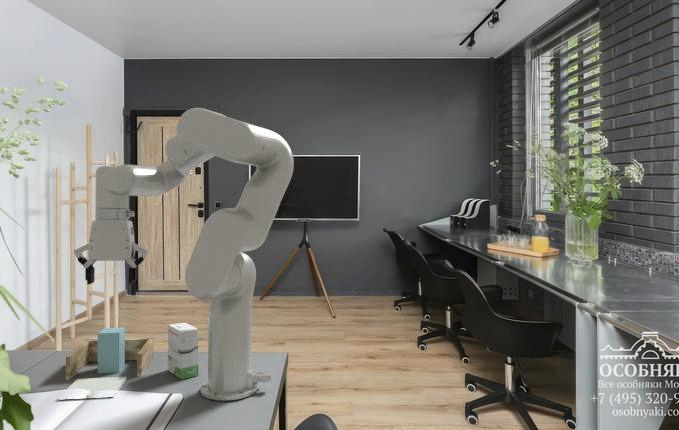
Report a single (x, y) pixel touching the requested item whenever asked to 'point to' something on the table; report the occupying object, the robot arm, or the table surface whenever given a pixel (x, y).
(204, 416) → the table surface
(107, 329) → the teal block
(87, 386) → the felt mat
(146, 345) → the crate
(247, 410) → the table surface
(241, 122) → the robot arm
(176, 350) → the ink box
